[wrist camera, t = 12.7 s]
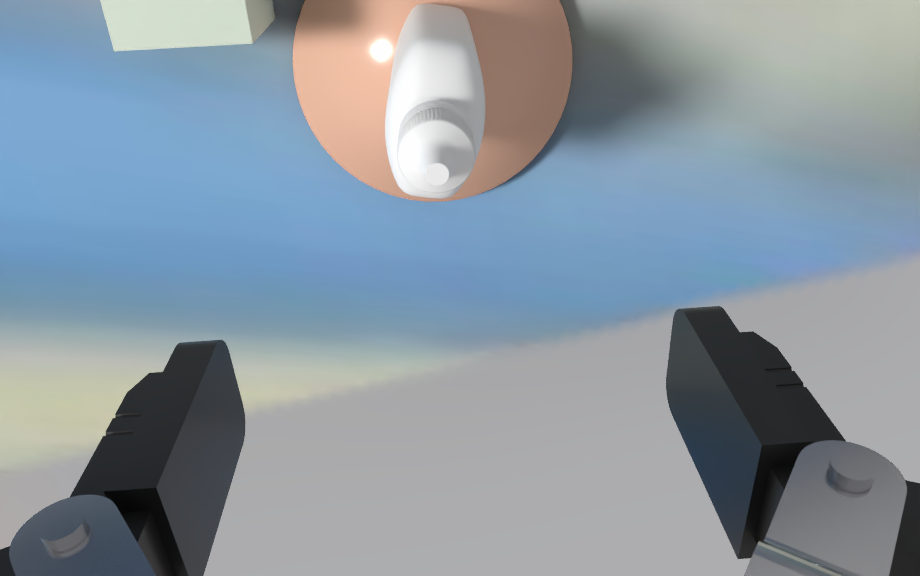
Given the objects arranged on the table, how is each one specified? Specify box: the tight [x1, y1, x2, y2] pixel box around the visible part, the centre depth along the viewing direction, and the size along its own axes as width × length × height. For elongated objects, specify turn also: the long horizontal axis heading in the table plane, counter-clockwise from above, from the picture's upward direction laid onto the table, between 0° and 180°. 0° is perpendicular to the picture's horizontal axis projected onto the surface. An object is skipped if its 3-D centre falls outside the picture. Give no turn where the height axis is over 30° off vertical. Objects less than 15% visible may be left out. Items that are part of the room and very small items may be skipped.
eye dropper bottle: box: [385, 3, 485, 199], centre depth 26 cm, size 4×6×12 cm
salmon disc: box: [293, 0, 573, 202], centre depth 32 cm, size 12×12×1 cm
